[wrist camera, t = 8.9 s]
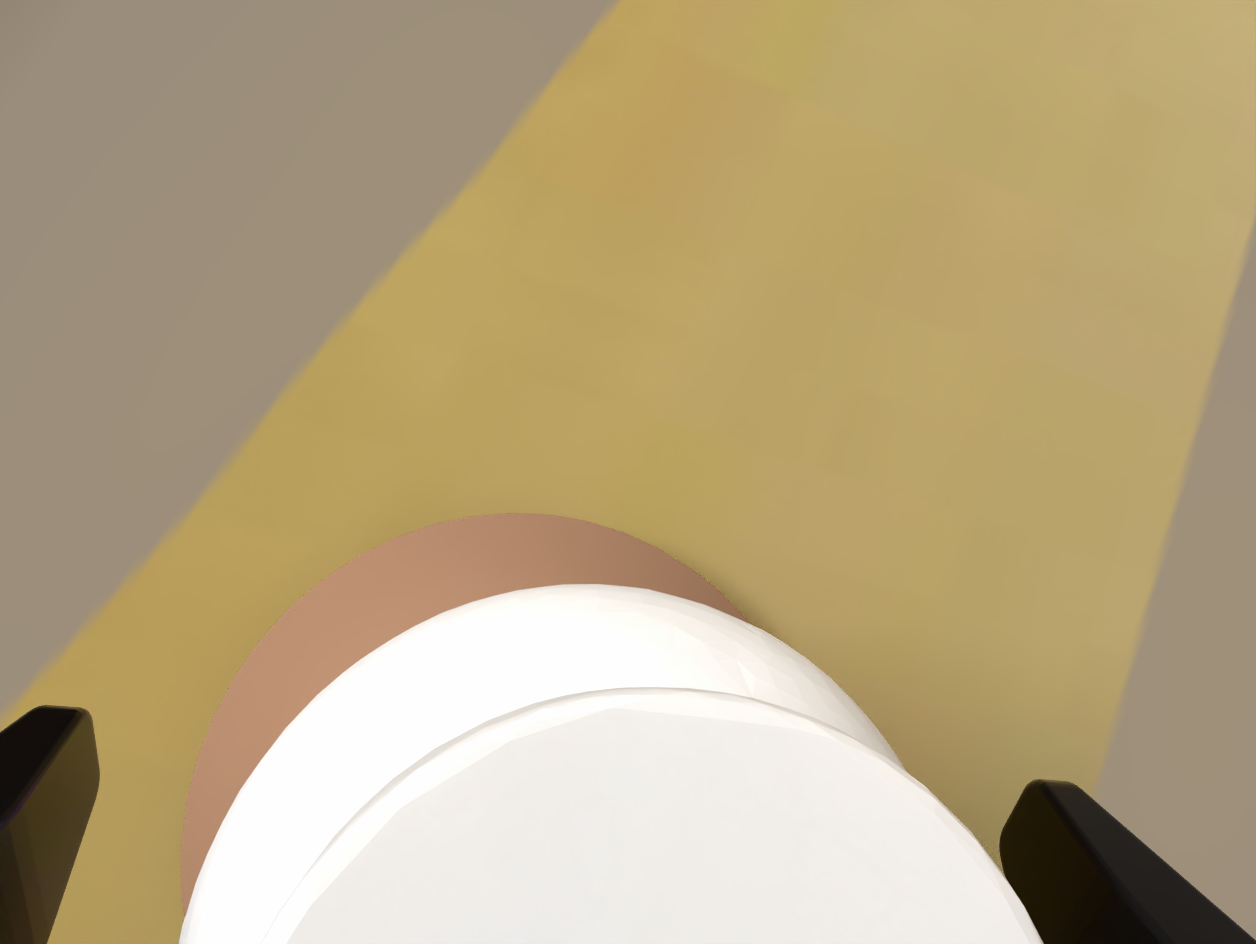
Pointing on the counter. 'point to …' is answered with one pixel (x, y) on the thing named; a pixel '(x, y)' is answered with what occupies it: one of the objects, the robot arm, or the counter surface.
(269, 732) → the terracotta round disc
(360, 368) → the counter surface
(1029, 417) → the counter surface
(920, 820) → the supplement bottle
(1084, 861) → the robot arm
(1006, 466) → the counter surface
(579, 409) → the counter surface
